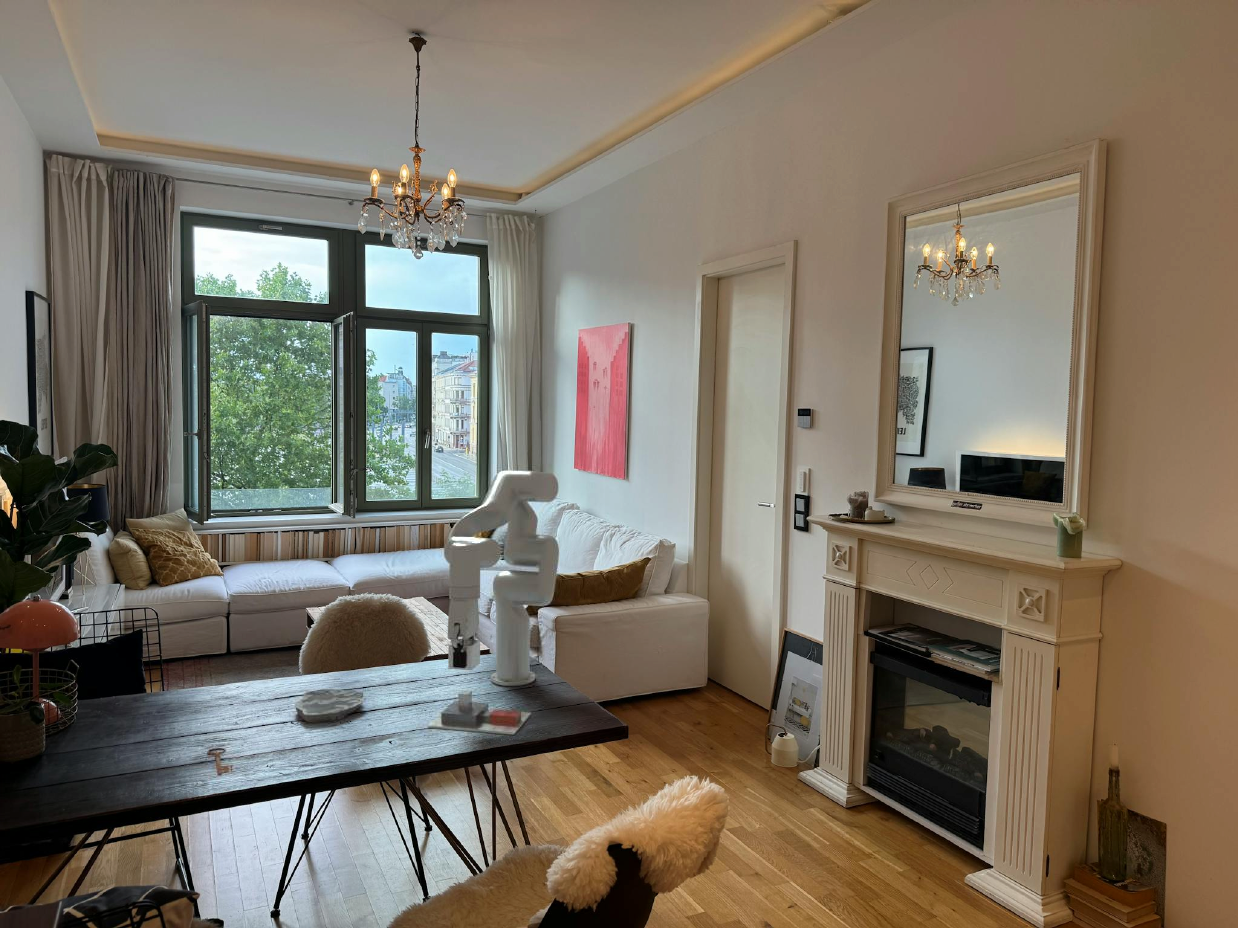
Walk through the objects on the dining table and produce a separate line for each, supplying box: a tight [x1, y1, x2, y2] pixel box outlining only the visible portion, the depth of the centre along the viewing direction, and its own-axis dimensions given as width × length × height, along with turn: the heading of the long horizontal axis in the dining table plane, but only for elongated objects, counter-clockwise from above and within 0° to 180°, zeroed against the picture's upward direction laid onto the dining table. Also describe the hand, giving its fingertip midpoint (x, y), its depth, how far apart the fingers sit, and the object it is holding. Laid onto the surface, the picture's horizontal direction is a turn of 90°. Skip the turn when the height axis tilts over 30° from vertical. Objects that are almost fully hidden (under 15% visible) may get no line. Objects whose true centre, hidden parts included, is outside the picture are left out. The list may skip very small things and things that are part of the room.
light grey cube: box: [447, 639, 481, 671], centre depth 216 cm, size 6×6×6 cm
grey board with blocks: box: [427, 690, 532, 736], centre depth 217 cm, size 14×22×7 cm, turn 79°
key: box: [207, 747, 234, 776], centre depth 192 cm, size 6×1×15 cm
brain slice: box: [294, 688, 367, 724], centre depth 223 cm, size 20×17×3 cm
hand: (464, 662), depth 217 cm, fingers closed on light grey cube, 6 cm apart
